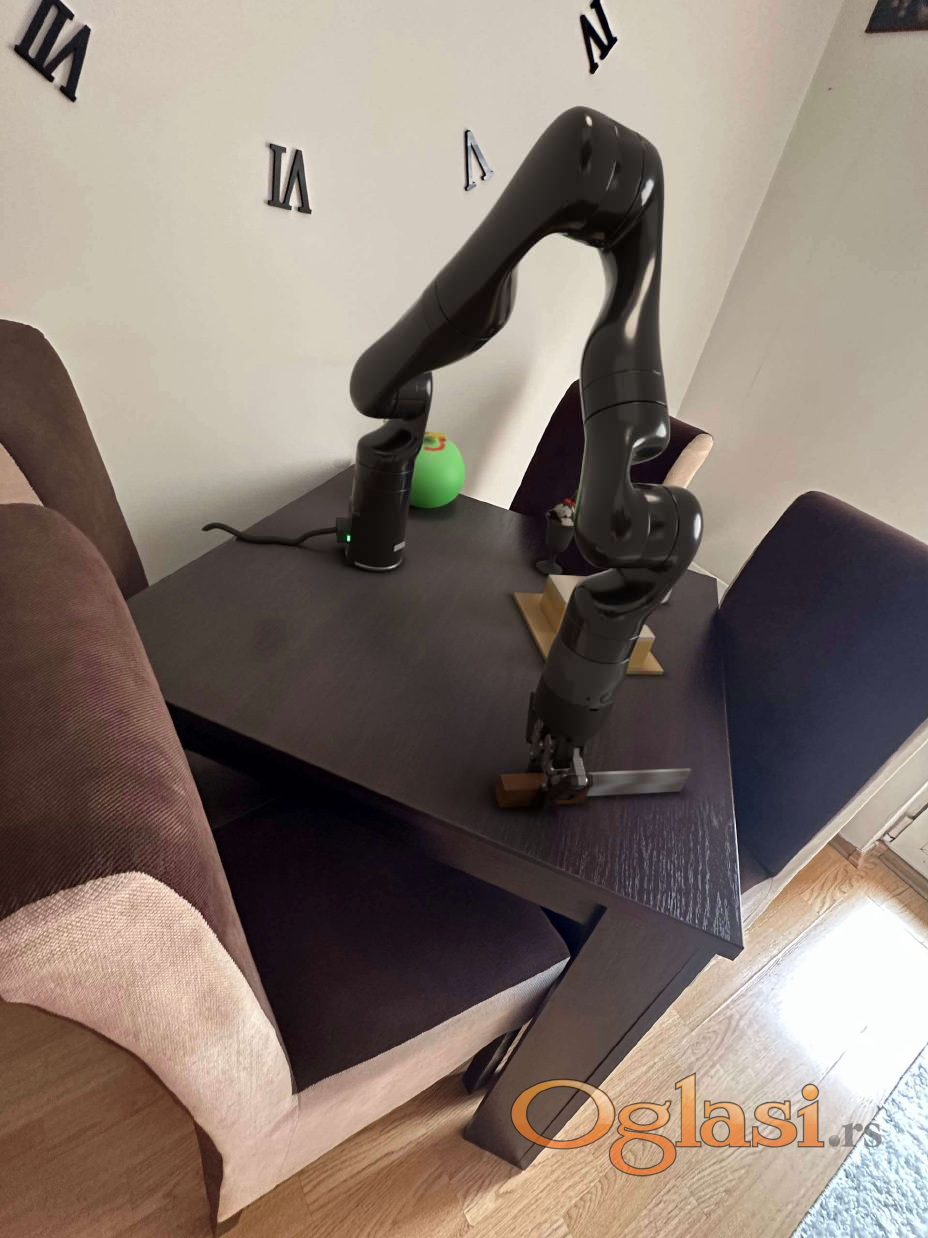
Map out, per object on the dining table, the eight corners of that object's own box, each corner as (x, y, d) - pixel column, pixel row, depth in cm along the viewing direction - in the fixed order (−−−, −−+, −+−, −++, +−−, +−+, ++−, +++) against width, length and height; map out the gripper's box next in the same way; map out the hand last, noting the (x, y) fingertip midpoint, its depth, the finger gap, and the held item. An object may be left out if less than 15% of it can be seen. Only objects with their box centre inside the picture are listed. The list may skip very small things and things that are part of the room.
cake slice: (573, 667, 93) (585, 635, 90) (566, 654, 95) (577, 622, 92) (641, 668, 96) (655, 637, 93) (633, 656, 98) (646, 624, 95)
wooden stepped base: (550, 674, 92) (563, 636, 88) (512, 596, 108) (521, 561, 104) (662, 674, 97) (678, 639, 93) (609, 600, 113) (621, 567, 109)
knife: (499, 807, 70) (506, 785, 68) (494, 791, 72) (501, 769, 70) (683, 797, 77) (695, 776, 75) (674, 783, 78) (686, 762, 76)
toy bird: (465, 525, 127) (480, 453, 119) (378, 517, 122) (388, 442, 114) (450, 487, 141) (462, 420, 133) (372, 479, 137) (380, 409, 129)
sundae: (566, 563, 121) (589, 488, 113) (567, 581, 116) (592, 503, 107) (531, 556, 121) (552, 480, 113) (531, 573, 115) (553, 495, 107)
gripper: (524, 633, 67) (490, 750, 77) (570, 730, 56) (523, 852, 66) (590, 635, 70) (548, 748, 79) (646, 728, 59) (590, 847, 68)
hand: (537, 795), depth 72 cm, fingers open, 3 cm apart
